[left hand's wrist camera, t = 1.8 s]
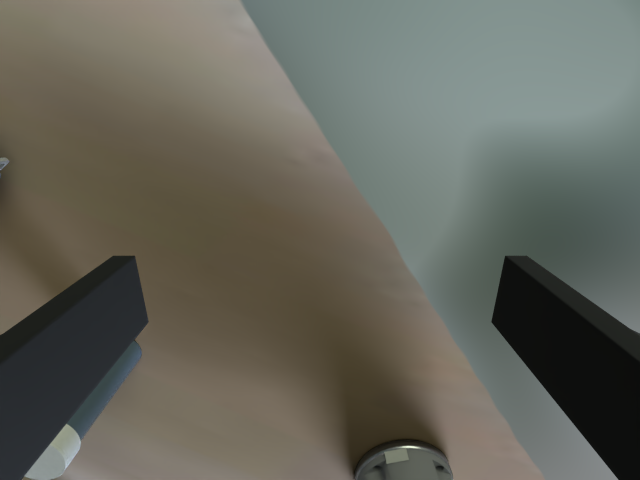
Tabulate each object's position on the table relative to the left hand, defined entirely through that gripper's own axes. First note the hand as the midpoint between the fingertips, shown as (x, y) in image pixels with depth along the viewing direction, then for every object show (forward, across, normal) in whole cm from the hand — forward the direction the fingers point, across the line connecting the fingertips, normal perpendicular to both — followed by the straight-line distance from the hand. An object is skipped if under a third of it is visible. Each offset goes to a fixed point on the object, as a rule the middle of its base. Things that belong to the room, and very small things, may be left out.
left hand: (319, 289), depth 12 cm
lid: (+12, +27, +25) cm, 39 cm away
